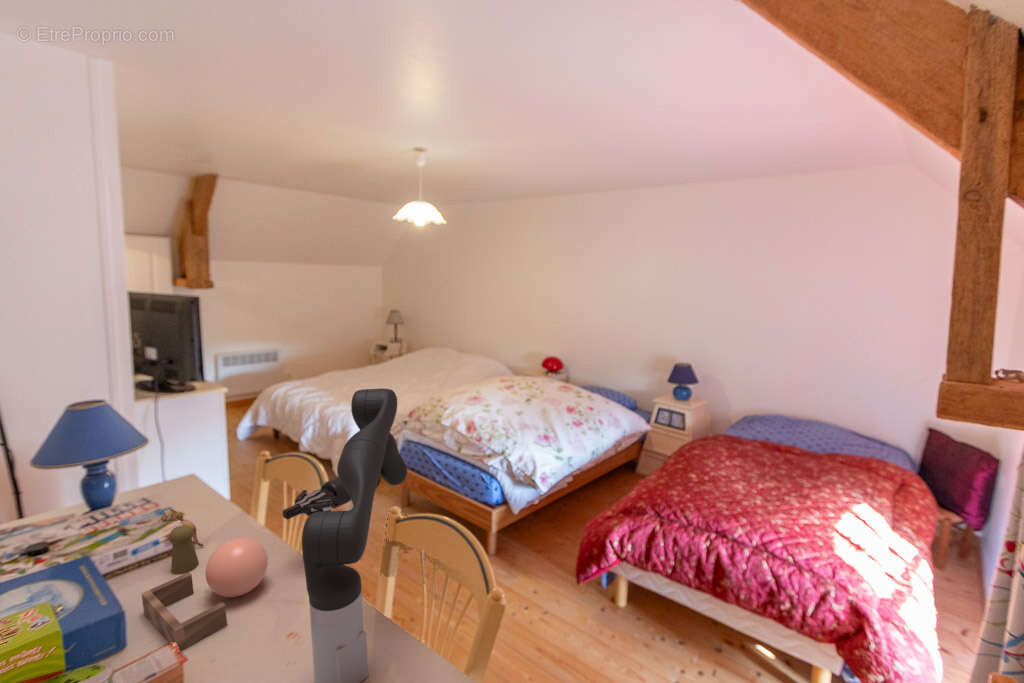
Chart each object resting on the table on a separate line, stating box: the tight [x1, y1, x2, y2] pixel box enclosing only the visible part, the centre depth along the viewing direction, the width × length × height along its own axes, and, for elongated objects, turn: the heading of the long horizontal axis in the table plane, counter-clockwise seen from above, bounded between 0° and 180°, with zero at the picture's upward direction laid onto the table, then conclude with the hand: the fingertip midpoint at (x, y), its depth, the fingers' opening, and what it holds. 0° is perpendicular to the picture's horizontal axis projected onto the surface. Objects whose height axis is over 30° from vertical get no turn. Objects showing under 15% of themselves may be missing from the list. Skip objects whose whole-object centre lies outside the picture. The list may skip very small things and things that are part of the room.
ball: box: [205, 537, 269, 598], centre depth 116 cm, size 13×13×13 cm
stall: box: [141, 572, 228, 652], centre depth 107 cm, size 19×10×5 cm, turn 54°
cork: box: [168, 525, 200, 575], centre depth 125 cm, size 6×6×11 cm
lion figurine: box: [156, 509, 205, 547], centre depth 137 cm, size 15×5×9 cm, turn 71°
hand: (284, 515), depth 122 cm, fingers closed
